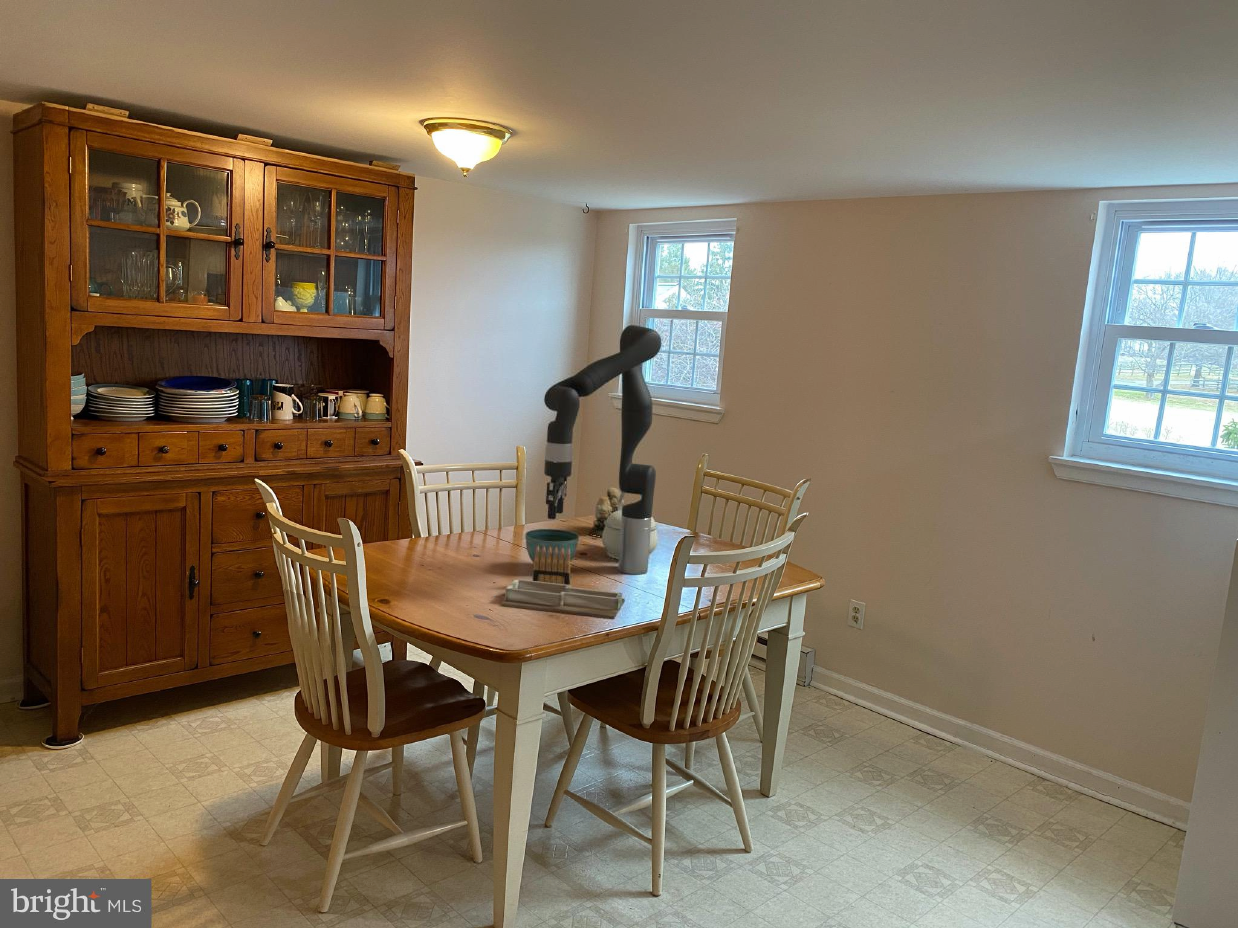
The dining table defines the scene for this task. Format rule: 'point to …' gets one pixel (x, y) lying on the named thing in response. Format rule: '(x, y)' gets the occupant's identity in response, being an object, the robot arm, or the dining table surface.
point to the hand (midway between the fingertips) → (555, 516)
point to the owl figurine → (605, 510)
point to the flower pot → (551, 542)
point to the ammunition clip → (551, 567)
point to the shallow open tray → (562, 599)
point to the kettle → (614, 528)
